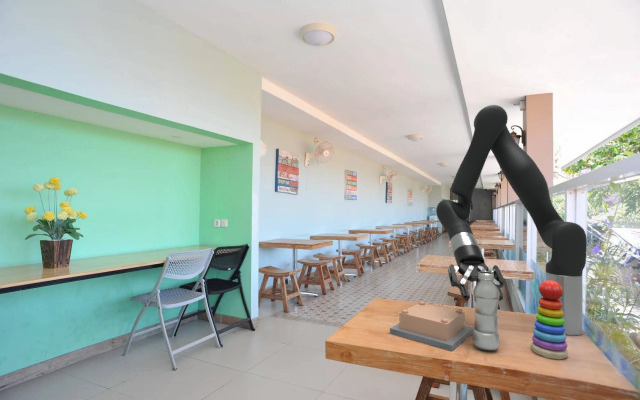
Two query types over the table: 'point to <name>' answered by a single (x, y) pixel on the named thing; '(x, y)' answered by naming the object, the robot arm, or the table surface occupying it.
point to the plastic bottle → (486, 312)
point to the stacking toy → (550, 323)
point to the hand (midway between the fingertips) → (483, 299)
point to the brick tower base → (434, 340)
